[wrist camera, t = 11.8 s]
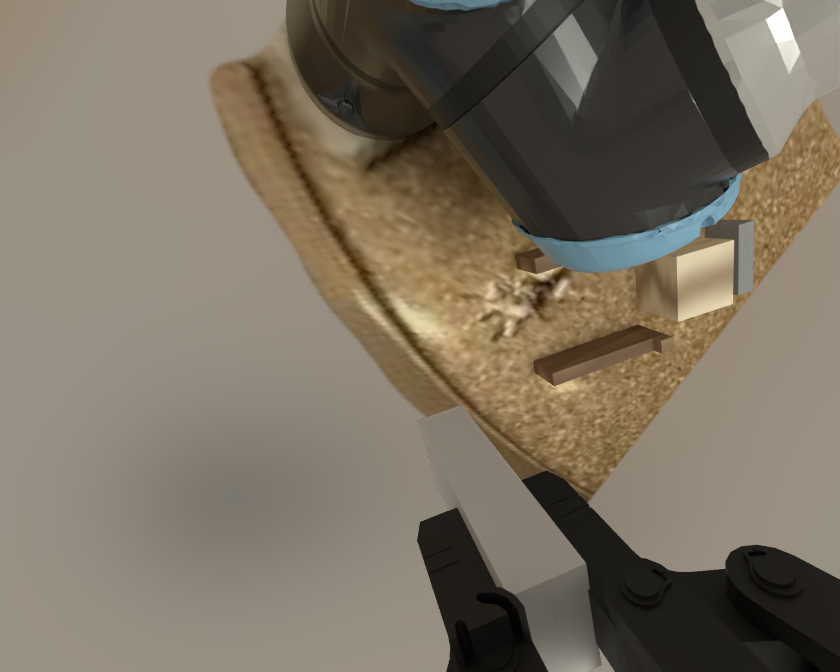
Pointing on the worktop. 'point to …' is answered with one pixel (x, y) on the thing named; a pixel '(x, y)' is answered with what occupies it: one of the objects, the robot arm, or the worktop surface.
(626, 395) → the worktop surface
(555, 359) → the chute
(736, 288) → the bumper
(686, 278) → the block
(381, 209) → the worktop surface
